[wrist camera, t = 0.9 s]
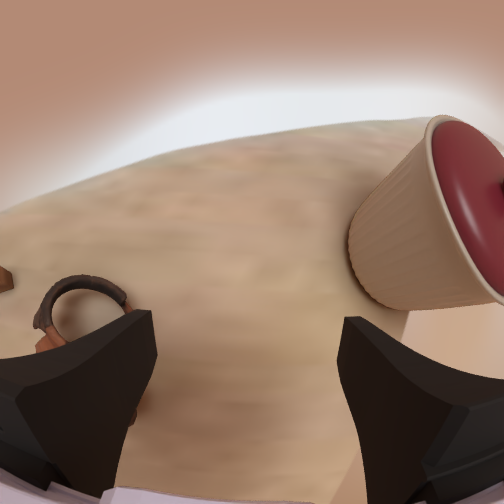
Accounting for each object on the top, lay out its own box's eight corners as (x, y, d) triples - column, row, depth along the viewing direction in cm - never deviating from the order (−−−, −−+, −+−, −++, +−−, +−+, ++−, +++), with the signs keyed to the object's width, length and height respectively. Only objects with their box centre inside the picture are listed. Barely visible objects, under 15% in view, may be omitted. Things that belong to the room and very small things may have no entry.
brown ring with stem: (23, 339, 22) (11, 285, 17) (103, 307, 29) (114, 251, 24) (91, 455, 18) (92, 439, 14) (173, 404, 26) (203, 369, 21)
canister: (297, 285, 31) (476, 189, 12) (346, 164, 38) (456, 57, 19) (415, 354, 33) (572, 328, 14) (439, 237, 40) (553, 177, 21)
